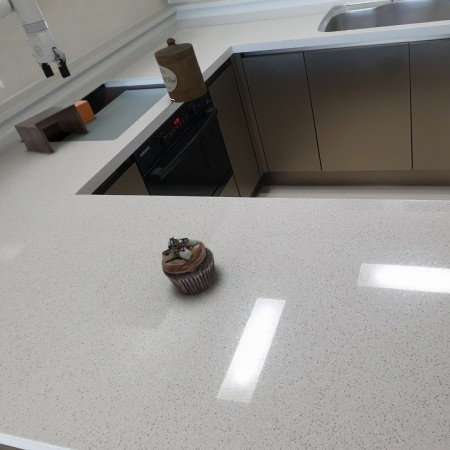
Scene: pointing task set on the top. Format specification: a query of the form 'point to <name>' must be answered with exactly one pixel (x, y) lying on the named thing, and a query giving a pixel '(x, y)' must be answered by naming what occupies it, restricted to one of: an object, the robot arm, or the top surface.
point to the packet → (84, 111)
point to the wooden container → (180, 71)
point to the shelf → (34, 125)
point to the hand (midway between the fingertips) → (58, 76)
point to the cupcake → (189, 265)
